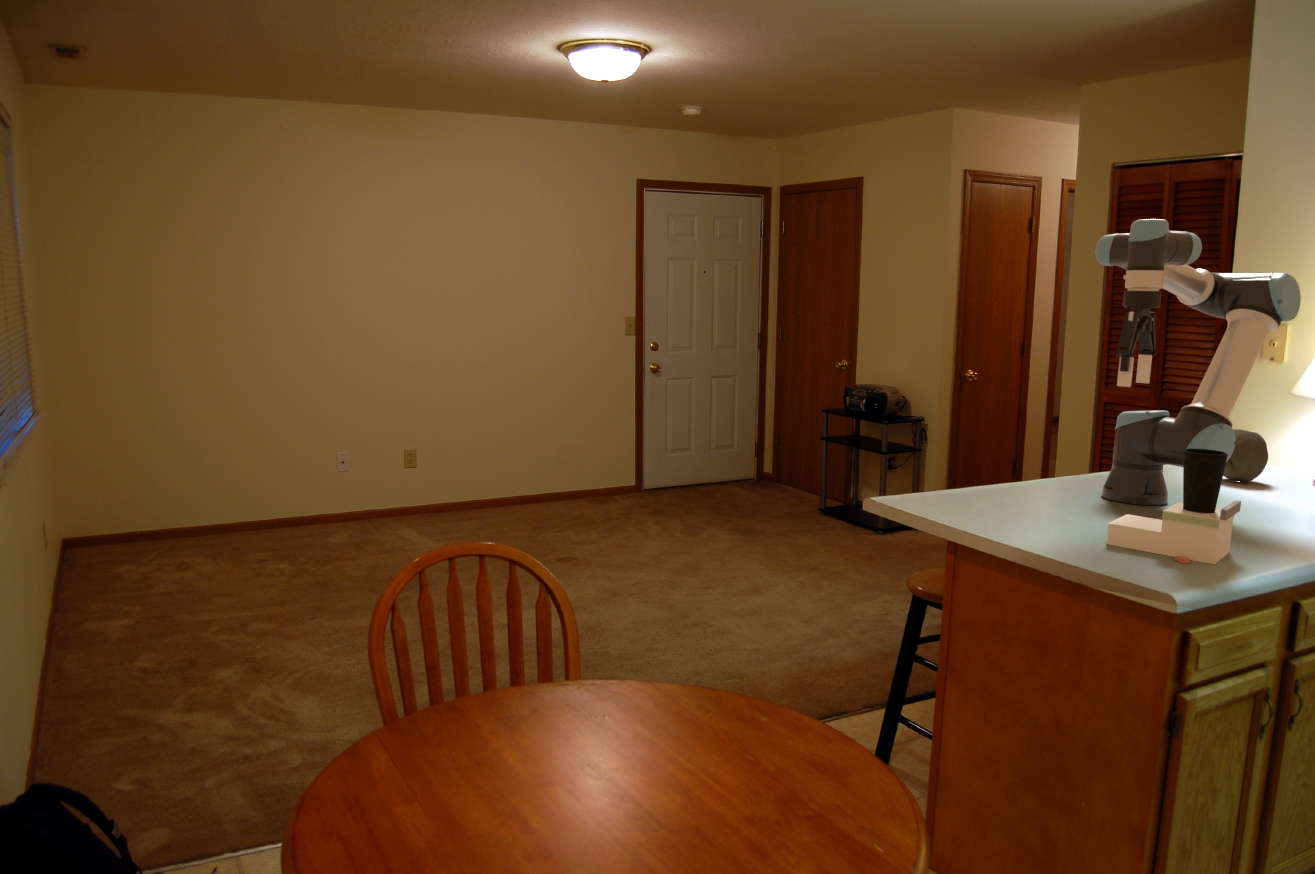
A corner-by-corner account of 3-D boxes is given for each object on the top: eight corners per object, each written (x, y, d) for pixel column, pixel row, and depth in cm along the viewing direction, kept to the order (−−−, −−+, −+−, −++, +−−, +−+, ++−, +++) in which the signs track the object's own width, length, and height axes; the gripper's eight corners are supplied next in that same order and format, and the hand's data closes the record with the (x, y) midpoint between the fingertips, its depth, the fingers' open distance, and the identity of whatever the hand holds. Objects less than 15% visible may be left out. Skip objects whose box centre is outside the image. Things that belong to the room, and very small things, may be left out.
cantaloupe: (1277, 486, 259) (1284, 434, 257) (1226, 485, 260) (1233, 432, 257) (1246, 477, 273) (1252, 426, 271) (1198, 475, 273) (1204, 425, 271)
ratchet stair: (1125, 533, 203) (1130, 484, 201) (1235, 553, 189) (1241, 500, 187) (1100, 547, 191) (1105, 495, 190) (1215, 569, 177) (1222, 513, 175)
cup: (1227, 515, 183) (1234, 455, 181) (1184, 513, 184) (1191, 453, 182) (1212, 507, 190) (1218, 449, 188) (1171, 504, 191) (1178, 447, 190)
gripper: (1141, 290, 219) (1132, 380, 222) (1106, 289, 201) (1097, 386, 204) (1177, 291, 214) (1167, 382, 217) (1144, 289, 196) (1134, 389, 199)
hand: (1133, 384), depth 211 cm, fingers open, 13 cm apart
